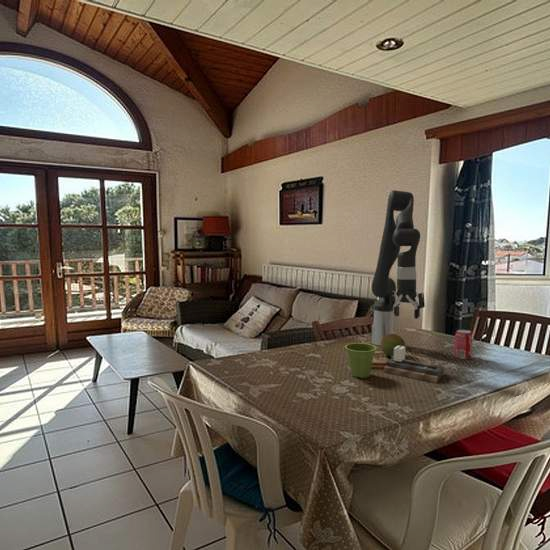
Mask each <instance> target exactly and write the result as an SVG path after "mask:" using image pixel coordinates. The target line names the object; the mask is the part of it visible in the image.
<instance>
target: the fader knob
mask: <svg viewBox="0 0 550 550" xmlns="http://www.w3.org/2000/svg"><path fill="white" fill-rule="evenodd" d="M405 347H406V345H405V346H402V345H401V346H399V345H398V346H396V347H395V348H394V358H393V360H394V361H396V362H400V363H403V360H404V359H406V349H405Z"/></svg>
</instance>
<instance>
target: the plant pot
mask: <svg viewBox="0 0 550 550" xmlns="http://www.w3.org/2000/svg"><path fill="white" fill-rule="evenodd" d="M344 348H345V349H346V354H347V357H348V363H349V369H350V370H349V371H350V375H351V376H352V377H354V378H360V379H364V378H365V379H367V378H369V377H370V375H371V372H372V366H373V359H374V356H375V353H376V352H375V351H376V350H377V346H376V345H375V344H372V343H371V344H370V343H366V342H365V343H362V342H354V343H349V344H346V345H345V346H344Z"/></svg>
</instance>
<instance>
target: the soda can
mask: <svg viewBox="0 0 550 550" xmlns="http://www.w3.org/2000/svg"><path fill="white" fill-rule="evenodd" d="M453 347H454V350H453V352H454V357H456V358H457V359H460V360H468V359H470V358H472V355H473V354H472V353H473V334H472V331H471V330H467V329H456V332H455V334H454V345H453Z"/></svg>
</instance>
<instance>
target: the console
mask: <svg viewBox="0 0 550 550" xmlns="http://www.w3.org/2000/svg"><path fill="white" fill-rule="evenodd" d="M393 358H394V357H390V358H389V359H387V361H385V366H383V373H387V374H391V375H396V376H401V377H406V378H409V379H415V380H420V381H425V382H430V383H432V384H433V383H435V384H437V383H438V382H439V381H440V380H441V379H442V377H443V376H445V374H446V369H445V367H444V366H443V365H437V364H432V363H428V362H422V361H421V362H420V361H416V360H411V359H410V360H409V359H406V358H405V359H404V360H403V363H400V362H396V361H394V360H393Z"/></svg>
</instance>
